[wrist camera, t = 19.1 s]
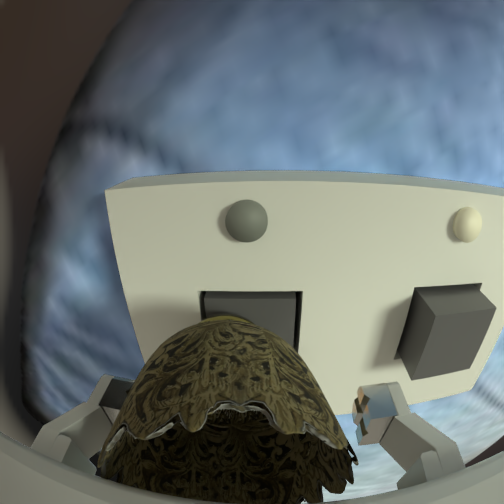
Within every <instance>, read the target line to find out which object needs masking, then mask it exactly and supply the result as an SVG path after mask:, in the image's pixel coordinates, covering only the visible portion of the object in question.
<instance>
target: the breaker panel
mask: <svg viewBox="0 0 504 504" xmlns="http://www.w3.org/2000/svg"><path fill="white" fill-rule="evenodd" d="M105 197H106V204H107V211H108V217H109V223H110V229H111V234H112V239H113V245H114V250H115V255H116V259H117V264H118V269H119V273H120V277H121V282H122V286H123V290H124V294H125V298H126V302H127V306H128V309H129V313H130V317H131V320H132V324H133V327H134V331H135V334H136V337H137V341H138V344H139V347H140V350H141V353H142V356H143V359H144V362H145V364H146V362H147V361H148V359H149V358H150V356H151V355H152V354H153V353H154V352H155V351H156V349H157V348H158V347H159V346H160V345H161V344H162V343H163V342H164V341H166V340H167V339H168V338H170V337H171V336H172V335H174V334H175V333H177V332H179V331H180V330H182V329H184V328H187V327H189V326H192V325H195V324H198V323H199V322H200V321H202V320H203V319H205V318H206V311H205V303H204V297H205V294H206V291H296V309H295V325H294V340H293V348H294V349H295V351H296V352H297V353H298V354H299V355H300V356H301V358H302V359H303V360H304V362H305V363H306V365H307V366H308V368H309V369H310V371H311V372H312V374H313V376H314V377H315V379H316V381H317V383H318V384H319V386H320V388H321V390H322V392H323V394H324V396H325V398H326V399H327V401H328V403H329V405H330V407H331V409H332V411H333V413H334V415H340V414H350V413H352V407H353V403H354V400H355V399H356V398H357V397H358V395H357V390H358V388H359V387H360V386H364V385H372V384H380V383H389V382H398V383H399V384H400V386H401V389H402V391H403V394H404V396H405V399H406V401H407V404H408V405H411V404H416V403H421V402H425V401H430V400H434V399H439V398H443V397H447V396H451V395H455V394H458V393H462V392H465V391H469V390H471V389H472V387H473V386H474V384H475V382H476V380H477V379H478V377H479V375H480V373H481V371H482V370H483V368H484V366H485V364H486V362H487V360H488V358H489V356H490V354H491V352H492V350H493V348H494V346H495V344H496V342H497V339H498V337H499V335H500V333H501V331H502V328H503V326H504V188H500V187H494V186H487V185H481V184H474V183H467V182H460V181H452V180H444V179H435V178H426V177H415V176H404V175H392V174H378V173H361V172H340V171H300V170H264V171H224V172H202V173H185V174H170V175H158V176H146V177H136V178H131V179H129V180H126V181H124V182H122V183H120V184H117V185H115V186H113V187H111V188H109V189H106V190H105ZM472 283H473V284H474V285H475V286H476V287H477V288H478V289H479V290H480V291H481V292H482V293H483V294H484V295H485V296H486V297H487V298H488V299H489V300H490V301H491V302H492V303H493V304H494V305H495V306H496V311H495V314H494V316H493V319H492V321H491V324H490V326H489V328H488V331H487V333H486V335H485V338H484V340H483V342H482V344H481V347H480V349H479V351H478V353H477V355H476V357H475V359H474V361H473V363H472V365H471V367H470V369H466V370H462V371H457V372H453V373H449V374H444V375H439V376H434V377H429V378H424V379H418V380H412V381H411V379H410V377H409V375H408V372H407V370H406V368H405V366H404V364H403V362H402V359H401V357H400V355H399V353H398V351H397V348H398V345H399V341H400V338H401V335H402V332H403V328H404V325H405V321H406V318H407V314H408V311H409V307H410V303H411V299H412V295H413V291H414V287H428V286H444V285H459V284H472Z"/></svg>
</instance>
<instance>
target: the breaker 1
mask: <svg viewBox="0 0 504 504" xmlns="http://www.w3.org/2000/svg"><path fill="white" fill-rule="evenodd" d="M204 303H205V311H206V318H207V317H209V316H211V315H215V314H221V313H231V314H237V315H240V316H243V317H245V318H247V319H249V320H250V321H252V322H253V323H254V324H256V325H258V326H260V327H263V328H265V329H267V330H269V331H271V332H273V333H275V334H276V335H278V336H279V337H281V338H282V339H283V340H285V341H286V342H287V343H288V344H290V345H291V346H292V347H293V340H294V325H295V309H296V295H295V291H206V294H205V297H204Z"/></svg>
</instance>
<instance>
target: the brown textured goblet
mask: <svg viewBox="0 0 504 504" xmlns="http://www.w3.org/2000/svg"><path fill="white" fill-rule="evenodd" d="M348 450H349V451H350V452H351V453H352V454H353V455H354V457H352V458H351V456H350V454H349V452H348ZM352 461H353V462H354V464H356V465H358V460H357V457H356V455H355V453H354V451H353V449H352V447H351V445H350V444H349V442H348V440H347V438H346V437H345V435H344V433H343V431H342V429H341V427H340V425H339V423H338V421H337V419H336V417H335V415H334V413H333V411H332V409H331V407H330V405H329V403H328V401H327V399H326V398H325V396H324V394H323V392H322V390H321V388H320V386H319V384H318V383H317V381H316V379H315V377H314V376H313V374H312V372H311V371H310V369H309V368H308V366H307V365H306V363H305V362H304V360H303V359H302V358H301V356H300V355H299V354H298V353H297V352H296V351H295V349H294V348H293V347H292V346H291V345H290V344H288V343H287V342H286V341H285V340H283V339H282V338H281V337H279V336H278V335H276V334H275V333H273V332H271V331H269V330H267V329H265V328H263V327H260V326H258V325H256V324H254V323H253V322H252V321H250V320H249V319H247V318H245V317H243V316H240V315H237V314H231V313H221V314H215V315H211V316H209V317H207V318H205V319H203V320H202V321H200V322H199V323H198V324H195V325H192V326H189V327H187V328H184V329H182V330H180V331H179V332H177V333H175V334H174V335H172V336H171V337H170V338H168V339H167V340H166V341H164V342H163V343H162V344H161V345H160V346H159V347H158V348H157V349H156V351H155V352H154V353H153V354H152V355H151V356H150V358H149V359H148V361H147V362H146V364H145V365H144V367H143V368H142V370H141V372H140V373H139V375H138V377H137V378H136V380H135V382H134V384H133V386H132V388H131V390H130V392H129V394H128V395H127V397H126V399H125V401H124V403H123V405H122V407H121V409H120V411H119V414H118V416H117V418H116V420H115V422H114V424H113V426H112V428H111V430H110V432H109V434H108V436H107V438H106V440H105V442H104V444H103V447H102V450H101V453H100V456H99V459H98V467H99V468H100V467H101V478H104V479H107V480H108V479H111V478H112V477H114V476H115V475H116V474H117V473H118V476H117V481H116V482H117V483H120V484H124V485H127V486H131V487H135V488H139V489H143V490H147V491H151V492H156V493H161V494H166V495H171V496H176V497H182V498H188V499H195V500H203V501H211V502H221V503H233V504H301V502H302V501H304V502H306V501H307V503H309V504H310V503H322V502H323V494H322V486H323V487H325V489H326V490H328V491H329V492H330V493H335V494H341V493H343V491H344V490H345V486H346V484H347V481H348V482H349V483H351V484H353V483H354V477H353V471H352V466H351V464H352ZM346 480H347V481H346Z"/></svg>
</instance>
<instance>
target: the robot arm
mask: <svg viewBox="0 0 504 504" xmlns="http://www.w3.org/2000/svg"><path fill="white" fill-rule="evenodd" d="M134 382H135V380H131V379H126V378H121V377H116V376H111V375H106V374H104V375H103V376H101V378H100V380H99V381H98V383H97V385H96V387H95V389H94V390H93V392H92V394H91V396H90V398H89V399H88V401H87V403H86V402H83V403H81V404H80V405H78V406H76V407H75V408H73V409H71V410H70V411H68V412H66V413H64V414H63V415H61V416H59V417H58V418H56V419H54V420H52V421H51V422H49V423H47V424H46V425H44V426H43V427H42V428H41V430H40V432H39V434H38V436H37V437H36V439H35V441H34V443H33V445H32V446H31V448H29V447H27V446H25V445H23V444H21V443H20V442H18V441H16V440H14V439H12V438H10V437H9V436H7V435H5V434H4V433H2V432H0V504H233V503H221V502H211V501H203V500H195V499H188V498H182V497H176V496H171V495H166V494H161V493H156V492H151V491H147V490H143V489H139V488H135V487H131V486H127V485H124V484H120V483H117V482H113V481H110V480H107V479H104V478H101V477H98V476H95V473H96V468H95V466H94V465H93V464H92V463H91V462H90V461H89V458H90V457H91V456H93V455H94V454H95V453H96V452H98V451H99V450H100V449H101V448H102V447H103V444H104V442H105V440H106V438H107V436H108V434H109V432H110V430H111V428H112V426H113V424H114V422H115V420H116V418H117V416H118V414H119V411H120V409H121V407H122V405H123V403H124V401H125V399H126V397H127V395H128V394H129V392H130V390H131V388H132V386H133V384H134ZM357 395H358V397H357V398H356V399H355V400H354V403H353V407H352V416H353V422H354V423H355V424H356V425H357V426H358V427H357V430H356V436H357V441H358V446H359V445H367V444H375V443H379V444H380V445H381V446H382V447H383V448H384V449H385V450H386V451H387V452H388V453H389V454H390V455H391V456H392V457H393V459H394V460H395V461H396V462H397V463H398V464H399V465H400V466H401V467H402V468H403V469H404V470H405V471H406V473H405V474H404V475H403V477H402V478H401V479H400V480H399V481H398V482H397V487H398V490H395V491H391V492H386V493H382V494H377V495H372V496H366V497H360V498H354V499H347V500H340V501H332V502H322V503H310V504H504V451H502V452H500V453H498V454H496V455H494V456H492V457H490V458H488V459H486V460H484V461H481V462H479V463H477V464H474V465H472V466H470V467H467V468H465V465H464V463H463V460H462V457H461V455H460V452H459V449H458V447H457V444H456V442H454V441H453V440H452V439H450V438H449V437H447V436H446V435H445V434H443V433H442V432H440V431H439V430H438V429H436V428H435V427H433V426H432V425H431V424H429V423H428V422H427V421H425V420H424V419H422V418H421V417H420V416H418V415H417V414H416V413H411V412H410V409H409V406H408V404H407V401H406V399H405V396H404V394H403V391H402V389H401V386H400V384H399V383H398V382H389V383H380V384H372V385H364V386H360V387H359V388H358V390H357Z"/></svg>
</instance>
